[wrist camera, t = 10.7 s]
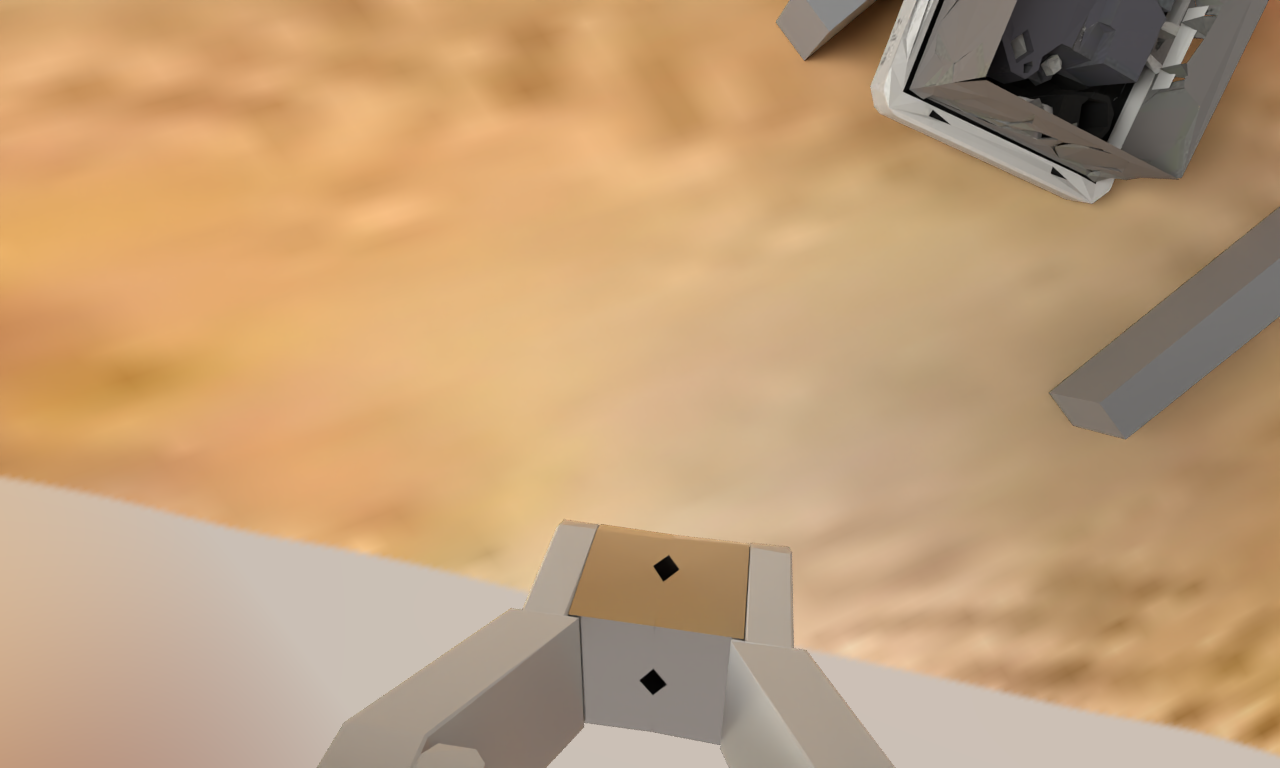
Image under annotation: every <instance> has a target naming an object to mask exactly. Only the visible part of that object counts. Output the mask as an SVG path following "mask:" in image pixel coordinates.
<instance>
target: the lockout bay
mask: <svg viewBox="0 0 1280 768" xmlns="http://www.w3.org/2000/svg"><path fill="white" fill-rule="evenodd" d="M875 1H876V0H790V1H789V2H788V4H787V5H786V7H785V8H784V10H783V11H782V13H781V15H780V16H779V18H778V19H777V21H776V23H777V25H778V26H779V27H780V29H781V30H782V31H783V33H784V34H785V35H786V37H787V38H788V39H789V41H790V42H791V44H792V45H793V46H794V48H795V49H796V50H797V52H798V53H799V54H800V56H801V57H802V58H803V60H804V61H805V60H806V59H807V58H808V57H809V56H811V55H812V54H813V53H814V52H815V51H817V50H818V49H819V48H820V47H821V46H823V45H824V44H825V43H826V42H827V41H828V40H830V39H831V38H832V37H833V36H834V35H836V34H837V33H838V32H839V31H840V30H842V29H843V28H844V27H845V26H846V25H848V24H849V23H850V22H851V21H852V20H854V19H855V18H856V17H857V16H858V15H860V14H861V13H862V12H863V11H864V10H866V9H867V8H868V7H869V6H870V5H872V4H873V3H874V2H875ZM1279 316H1280V207H1279V208H1277V209H1276V210H1275V211H1274V212H1272V213H1271V214H1270V215H1269V216H1267V217H1266V218H1265V219H1264V220H1262V221H1261V222H1260V223H1259V224H1258V225H1256V226H1255V227H1254V228H1253V229H1251V230H1250V231H1249V232H1248V233H1246V234H1245V235H1244V236H1243V237H1241V238H1240V239H1239V240H1238V241H1236V242H1235V243H1234V244H1233V245H1231V246H1230V247H1229V248H1228V249H1227V250H1225V251H1224V252H1223V253H1222V254H1220V255H1219V256H1218V257H1217V258H1215V259H1214V260H1213V261H1212V262H1210V263H1209V264H1208V265H1207V266H1205V267H1204V268H1203V269H1202V270H1201V271H1199V272H1198V273H1197V274H1196V275H1194V276H1193V277H1192V278H1191V279H1189V280H1188V281H1187V282H1186V283H1184V284H1183V285H1182V286H1181V287H1179V288H1178V289H1177V290H1176V291H1174V292H1173V293H1172V294H1171V295H1170V296H1168V297H1167V298H1166V299H1165V300H1163V301H1162V302H1161V303H1160V304H1158V305H1157V306H1156V307H1155V308H1153V309H1152V310H1151V311H1150V312H1148V313H1147V314H1146V315H1145V316H1143V317H1142V318H1141V319H1140V320H1139V321H1137V322H1136V323H1135V324H1134V325H1132V326H1131V327H1130V328H1129V329H1127V330H1126V331H1125V332H1124V333H1122V334H1121V335H1120V336H1119V337H1117V338H1116V339H1115V340H1114V341H1112V342H1111V343H1110V344H1109V345H1108V346H1106V347H1105V348H1104V349H1103V350H1101V351H1100V352H1099V353H1098V354H1096V355H1095V356H1094V357H1093V358H1091V359H1090V360H1089V361H1088V362H1086V363H1085V364H1084V365H1083V366H1081V367H1080V368H1079V369H1078V370H1077V371H1075V372H1074V373H1073V374H1072V375H1070V376H1069V377H1068V378H1067V379H1065V380H1064V381H1063V382H1062V383H1060V384H1059V385H1058V386H1057V387H1055V388H1054V389H1053V390H1052V391H1050V392H1049V394H1050V395H1051V396H1052V398H1053V399H1054V400H1055V402H1056V403H1057V404H1058V406H1059V407H1060V408H1061V410H1062V411H1063V413H1064V414H1065V415H1066V417H1067V418H1068V419H1069V421H1070V422H1071V423H1072V425H1073V426H1077V427H1081V428H1084V429H1088V430H1092V431H1096V432H1099V433H1103V434H1107V435H1111V436H1115V437H1118V438H1122V439H1127V438H1128V437H1130V436H1131V435H1132V434H1133V433H1135V432H1136V431H1137V430H1138V429H1140V428H1141V427H1142V426H1143V425H1145V424H1146V423H1147V422H1148V421H1149V420H1151V419H1152V418H1153V417H1154V416H1156V415H1157V414H1158V413H1159V412H1161V411H1162V410H1163V409H1164V408H1166V407H1167V406H1168V405H1169V404H1171V403H1172V402H1173V401H1174V400H1176V399H1177V398H1178V397H1179V396H1181V395H1182V394H1183V393H1184V392H1186V391H1187V390H1188V389H1189V388H1191V387H1192V386H1193V385H1194V384H1196V383H1197V382H1198V381H1199V380H1201V379H1202V378H1203V377H1204V376H1206V375H1207V374H1208V373H1209V372H1211V371H1212V370H1213V369H1214V368H1216V367H1217V366H1218V365H1219V364H1221V363H1222V362H1223V361H1224V360H1226V359H1227V358H1228V357H1229V356H1231V355H1232V354H1233V353H1234V352H1236V351H1237V350H1238V349H1239V348H1241V347H1242V346H1243V345H1244V344H1246V343H1247V342H1248V341H1249V340H1251V339H1252V338H1253V337H1254V336H1256V335H1257V334H1258V333H1259V332H1261V331H1262V330H1263V329H1264V328H1266V327H1267V326H1268V325H1269V324H1271V323H1272V322H1273V321H1274V320H1276V319H1277V318H1278V317H1279Z"/></svg>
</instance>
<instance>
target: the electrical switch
mask: <svg viewBox="0 0 1280 768" xmlns="http://www.w3.org/2000/svg"><path fill="white" fill-rule="evenodd" d="M1268 1H1269V0H904V1H903V3H902V6H901V9H900V11H899V14H898V17H897V19H896V22H895V25H894V27H893V30H892V32H891V35H890V38H889V40H888V43H887V45H886V48H885V50H884V53H883V56H882V58H881V61H880V63H879V66H878V68H877V71H876V73H875V76H874V78H873V81H872V83H871V86H870V87H871V92H872V97H873V102H874V107H875V108H876V109H877V111H878V112H879V113H880V114H882V115H884V116H886V117H888V118H890V119H893V120H895V121H897V122H899V123H901V124H903V125H906V126H908V127H910V128H912V129H914V130H917V131H919V132H921V133H923V134H925V135H927V136H930V137H932V138H934V139H936V140H938V141H940V142H943V143H945V144H947V145H949V146H951V147H953V148H956V149H958V150H960V151H962V152H964V153H966V154H969V155H971V156H973V157H975V158H977V159H980V160H982V161H984V162H986V163H988V164H990V165H993V166H995V167H997V168H999V169H1001V170H1003V171H1006V172H1008V173H1010V174H1012V175H1014V176H1016V177H1019V178H1021V179H1023V180H1025V181H1027V182H1029V183H1032V184H1034V185H1036V186H1038V187H1040V188H1042V189H1045V190H1047V191H1049V192H1051V193H1053V194H1056V195H1058V196H1060V197H1062V198H1064V199H1067V200H1073V201H1079V202H1085V203H1092V204H1093V203H1094V202H1095V201H1097V200H1098V199H1099V198H1101V197H1102V196H1103V195H1105V194H1106V193H1107V192H1109V191H1110V189H1111V187H1112V184H1113V182H1114V180H1115V178H1116V179H1124V180H1128V179H1135V178H1159V179H1177V178H1182V176H1183V174H1184V172H1185V170H1186V168H1187V166H1188V164H1189V162H1190V160H1191V158H1192V156H1193V154H1194V152H1195V149H1196V147H1197V145H1198V143H1199V141H1200V139H1201V137H1202V135H1203V133H1204V131H1205V129H1206V127H1207V125H1208V123H1209V121H1210V119H1211V117H1212V115H1213V113H1214V111H1215V109H1216V107H1217V105H1218V103H1219V101H1220V98H1221V96H1222V94H1223V92H1224V90H1225V88H1226V86H1227V84H1228V82H1229V80H1230V78H1231V76H1232V74H1233V72H1234V70H1235V68H1236V66H1237V64H1238V62H1239V60H1240V58H1241V56H1242V54H1243V52H1244V50H1245V48H1246V45H1247V43H1248V41H1249V39H1250V37H1251V35H1252V33H1253V31H1254V29H1255V27H1256V25H1257V23H1258V21H1259V19H1260V17H1261V15H1262V13H1263V11H1264V9H1265V7H1266V5H1267V3H1268ZM1195 2H1196V4H1195ZM1204 15H1213V16H1204ZM1193 38H1200V39H1204V40H1203V41H1202V43H1201V44H1200V45H1199V47H1198V48H1197V50H1196V51H1195V53H1194V54H1193V55H1192V57H1191V58H1190V60H1189V61H1188V62H1187V64H1181V62H1182V60H1183V58H1184V56H1185V54H1186V52H1187V50H1188V48H1189V46H1190V44H1191V42H1192V40H1193ZM1175 77H1181V78H1185V80H1181V81H1176V82H1172V81H1173V79H1174V78H1175ZM1199 106H1200V107H1199ZM1178 180H1179V179H1178Z"/></svg>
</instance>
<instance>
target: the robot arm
mask: <svg viewBox="0 0 1280 768" xmlns="http://www.w3.org/2000/svg"><path fill="white" fill-rule="evenodd" d="M584 723H590V724H597V725H604V726H612V727H619V728H627V729H634V730H641V731H650V732H655V733H660V734H665V735H670V736H675V737H681V738H686V739H691V740H696V741H702V742H707V743H712V744H717V745H721V746H720V749H721V751H722V754H723V756H724V758H725V760H726V762H727V765H728V766H729V768H895V767H894V765H893V764H892V763H891V761H890V760H889V759H888V758H887V756H886V755H885V753H884V752H883V751H882V749H881V748H880V747H879V746H878V744H877V743H876V742H875V740H874V739H873V738H872V736H871V735H870V734H869V732H868V731H867V730H866V728H865V727H864V726H863V724H862V723H861V722H860V720H859V719H858V718H857V716H856V715H855V714H854V713H853V711H852V710H851V708H850V707H849V706H848V705H847V703H846V702H845V701H844V699H843V698H842V697H841V695H840V694H839V693H838V691H837V690H836V689H835V687H834V686H833V685H832V683H831V682H830V681H829V679H828V678H827V677H826V675H825V674H824V673H823V672H822V670H821V669H820V668H819V666H818V665H817V664H816V662H815V661H814V660H813V658H812V657H811V656H810V654H809V653H808V652H807V650H802V649H795V648H794V630H793V581H792V552H791V550H790V548H789V547H786V546H776V545H767V544H757V543H751V544H750V547H749V543H741V542H733V541H724V540H715V539H706V538H698V537H689V536H680V535H672V534H665V533H658V532H652V531H645V530H638V529H631V528H624V527H617V526H610V525H604V524H601V525H598V524H592V523H585V522H578V521H571V520H563V521H562V522H561V523H560V524H559V525H558V526H557V528H556V530H555V533H554V535H553V538H552V540H551V542H550V545H549V547H548V549H547V552H546V554H545V557H544V559H543V561H542V564H541V566H540V568H539V571H538V573H537V576H536V578H535V580H534V583H533V585H532V587H531V590H530V592H529V595H528V597H527V599H526V602H525V604H524V607H523V609H522V610H521V609H514V608H510V609H509V610H508V611H506V612H505V613H503V614H502V615H500V616H499V617H497V618H496V619H494V620H493V621H492V622H490V623H489V624H487V625H486V626H484V627H483V628H481V629H480V630H478V631H477V632H476V633H474V634H473V635H471V636H470V637H468V638H467V639H465V640H464V641H462V642H461V643H459V644H458V645H456V646H455V647H454V648H452V649H451V650H449V651H448V652H446V653H445V654H443V655H442V656H440V657H439V658H437V659H436V660H435V661H433V662H432V663H430V664H429V665H427V666H426V667H424V668H423V669H421V670H420V671H418V672H417V673H416V674H414V675H413V676H411V677H410V678H408V679H407V680H405V681H404V682H402V683H401V684H400V685H398V686H397V687H395V688H394V689H392V690H391V691H389V692H388V693H386V694H385V695H383V696H382V697H381V698H379V699H378V700H376V701H375V702H373V703H372V704H370V705H369V706H367V707H366V708H364V709H363V710H362V711H360V712H359V713H357V714H356V715H354V716H353V717H351V718H350V719H348V720H347V721H345V722H344V723H343V725H342V727H341V728H340V730H339V732H338V733H337V735H336V737H335V738H334V740H333V742H332V743H331V745H330V747H329V748H328V750H327V752H326V753H325V755H324V757H323V758H322V760H321V762H320V763H319V765H318V767H317V768H546V767H547V766H548V765H549V764H550V763H551V762H552V761H553V760H554V759H555V758H556V756H558V754H559V753H560V752H561V751H562V750H563V749H564V748H565V747H566V746H567V745H568V744H569V743H570V742H571V740H572V739H573V738H574V737H575V736H576V735H577V734H578V733H579V732H580V731H581V730H582V729H583V728H584Z"/></svg>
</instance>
